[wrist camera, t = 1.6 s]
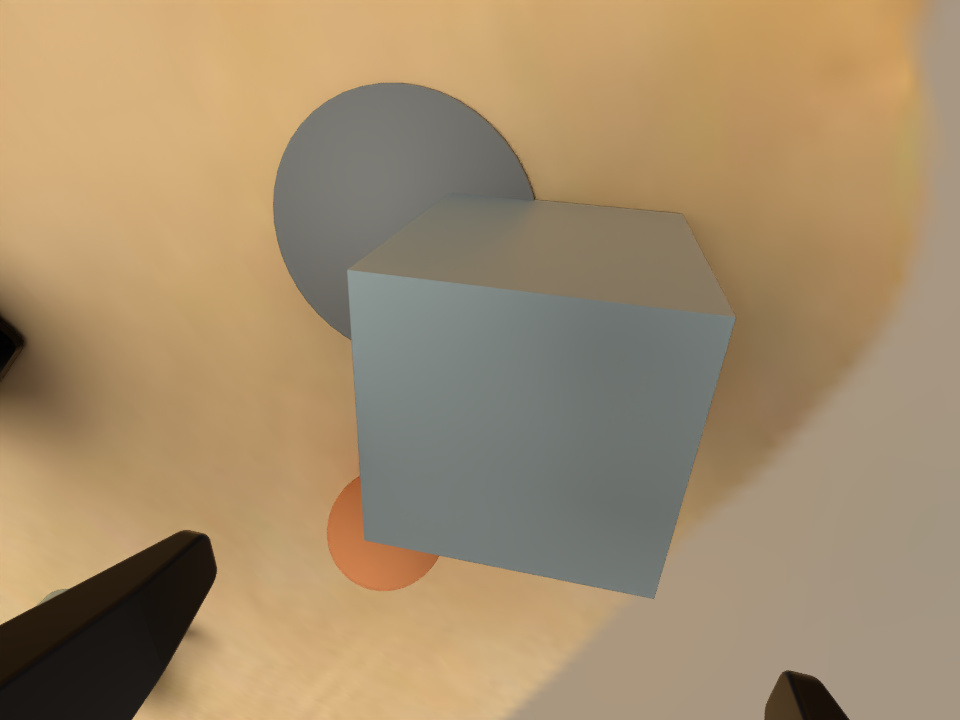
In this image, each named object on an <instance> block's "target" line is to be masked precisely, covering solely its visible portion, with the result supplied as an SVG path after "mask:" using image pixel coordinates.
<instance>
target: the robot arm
mask: <svg viewBox="0 0 960 720" xmlns="http://www.w3.org/2000/svg"><path fill="white" fill-rule="evenodd" d="M23 346H24V344H23V341H22V339H21V337H20V336H19V335H18V334H17V333H16V332H15V331H13V330H12V329H11V328H10V327H9V326H8V325H7V324H5V323H4V322H3V321H2V320H1V319H0V381H1V379H2V378H3V376H4V375H5V373H6V372H7V370H8V369H9V367H10V366H11V364H12V363H13V362H14V360H15V359H16V357H17V356H18V354H19V353H20V351H21V350H22V348H23ZM216 574H217V565H216V561H215V557H214V553H213V549H212V545H211V541H210V539H209V537H208V536H207V535H206V534H203V533H199V532H195V531H191V530H183V531H180V532H177V533H175V534H174V535H172V536H170V537H168V538H166V539H164V540H162V541H160V542H158V543H156V544H154V545H152V546H151V547H149V548H147V549H145V550H143V551H141V552H139V553H137V554H135V555H133V556H131V557H129V558H128V559H126V560H124V561H122V562H120V563H118V564H116V565H114V566H112V567H110V568H108V569H107V570H105V571H103V572H101V573H99V574H97V575H95V576H93V577H91V578H89V579H87V580H85V581H84V582H82V583H80V584H78V585H76V586H74V587H72V588H70V589H68V590H66V591H64V592H62V593H61V594H59V595H57V596H55V597H53V598H51V599H49V600H47V601H45V602H43V603H41V604H39V605H38V606H36V607H34V608H32V609H30V610H28V611H26V612H24V613H22V614H20V615H18V616H16V617H15V618H13V619H11V620H9V621H7V622H5V623H3V624H1V625H0V720H132V719H133V717H134V716H135V714H136V713H137V711H138V710H139V708H140V707H141V705H142V704H143V702H144V701H145V699H146V698H147V696H148V695H149V694H150V692H151V691H152V689H153V688H154V686H155V685H156V683H157V681H158V680H159V678H160V677H161V675H162V674H163V672H164V671H165V669H166V667H167V666H168V664H169V662H170V660H171V659H172V657H173V655H174V654H175V652H176V650H177V648H178V646H179V644H180V643H181V641H182V639H183V637H184V635H185V634H186V632H187V630H188V628H189V626H190V625H191V623H192V621H193V619H194V617H195V616H196V614H197V612H198V610H199V608H200V607H201V605H202V603H203V601H204V599H205V598H206V596H207V594H208V592H209V590H210V588H211V587H212V585H213V583H214V580H215V578H216ZM765 720H849V718H848V717H847V716H846V714H845V713H844V712H843V710H842V709H841V708H840V706H839V705H838V704H837V702H836V701H835V700H834V698H833V697H832V696H831V694H830V693H829V692H828V690H827V689H826V688H825V686H824V685H823V684H822V683H821V682H820V681H819V680H818V679H817V678H815V677H813V676H810V675H807V674H802V673H798V672H794V671H789V670H788V671H785V672H782V674H781V675H780V677H779V679H778V681H777V683H776V685H775V687H774V689H773V691H772V693H771V695H770V697H769V699H768V701H767V704H766V707H765Z"/></svg>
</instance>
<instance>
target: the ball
mask: <svg viewBox="0 0 960 720" xmlns="http://www.w3.org/2000/svg"><path fill="white" fill-rule="evenodd" d="M327 540H328V545H329V550H330V553H331V555H332V557H333V560H334V562H335V564H336V565H337V567H338V568H339V569H340V570H341V572H342V573H343V574H344V575H345V576H346V577H347V578H348V579H350V580H351V581H353V582H354V583H356V584H358V585H360V586H362V587H364V588H367V589H371V590H377V591H391V590H396V589H400V588H404V587H406V586H408V585H410V584H412V583H414V582H416V581H417V580H419V579H420V578H421V577H423V576H424V575H425V574H426V573H427V572H428V571H429V570H430V569H431V567H432V566H433V565H434V563H435V562H436V560H437V559H438V557H439V555H434V554H429V553H424V552H419V551H414V550H410V549H405V548H400V547H395V546H390V545H385V544H380V543H375V542H370V541H365V540H364V528H363V513H362V497H361V481H360V476H359V477H358V478H356V479H355V480H353V481H352V482H351V483H350V484H349V485H347V486H346V487H345V488H344V490H343V491H342V492H341V493H340V495H339V496H338V498H337V499H336V501H335V503H334V505H333V507H332V510H331V513H330V516H329V520H328V526H327Z"/></svg>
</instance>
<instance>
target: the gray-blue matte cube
mask: <svg viewBox="0 0 960 720" xmlns="http://www.w3.org/2000/svg"><path fill="white" fill-rule="evenodd" d="M347 275H348V290H349V306H350V322H351V338H352V354H353V370H354V386H355V401H356V417H357V433H358V449H359V465H360V481H361V497H362V513H363V528H364V540H365V541H370V542H375V543H380V544H385V545H390V546H395V547H400V548H405V549H410V550H414V551H419V552H424V553H429V554H434V555H439V556H444V557H449V558H454V559H459V560H464V561H469V562H474V563H479V564H484V565H489V566H494V567H498V568H503V569H508V570H513V571H518V572H523V573H528V574H533V575H538V576H543V577H548V578H553V579H558V580H563V581H568V582H573V583H577V584H582V585H587V586H592V587H597V588H602V589H607V590H612V591H617V592H622V593H627V594H632V595H637V596H642V597H647V598H652V599H654V597H655V594H656V591H657V587H658V584H659V580H660V577H661V573H662V570H663V567H664V563H665V560H666V556H667V553H668V549H669V546H670V543H671V539H672V536H673V532H674V529H675V525H676V522H677V519H678V515H679V512H680V508H681V505H682V501H683V498H684V494H685V491H686V488H687V484H688V481H689V477H690V474H691V470H692V467H693V464H694V460H695V457H696V453H697V450H698V446H699V443H700V440H701V436H702V433H703V429H704V426H705V422H706V419H707V416H708V412H709V409H710V405H711V402H712V398H713V395H714V392H715V388H716V385H717V381H718V378H719V374H720V371H721V368H722V364H723V361H724V357H725V354H726V350H727V347H728V344H729V340H730V337H731V333H732V330H733V326H734V323H735V320H736V316H735V314H734V312H733V310H732V308H731V306H730V304H729V303H728V301H727V299H726V297H725V295H724V293H723V291H722V289H721V287H720V285H719V283H718V281H717V279H716V278H715V276H714V274H713V272H712V270H711V268H710V266H709V264H708V262H707V260H706V258H705V256H704V254H703V253H702V251H701V249H700V247H699V245H698V243H697V241H696V239H695V237H694V235H693V233H692V231H691V229H690V227H689V226H688V224H687V222H686V220H685V218H684V216H683V214H680V213H670V212H659V211H649V210H638V209H628V208H617V207H607V206H597V205H586V204H576V203H565V202H555V201H544V200H534V201H531V200H521V199H510V198H500V197H489V196H479V195H468V194H458V193H450V194H448V195H447V196H446V197H444V198H443V199H442V200H440V201H439V202H438V203H436V204H435V205H434V206H432V207H431V208H430V209H428V210H427V211H426V212H424V213H423V214H421V215H420V216H419V217H417V218H416V219H415V220H413V221H412V222H411V223H409V224H408V225H407V226H405V227H404V228H403V229H401V230H400V231H399V232H397V233H396V234H395V235H393V236H392V237H391V238H389V239H388V240H387V241H385V242H384V243H383V244H381V245H380V246H379V247H377V248H376V249H374V250H373V251H372V252H370V253H369V254H368V255H366V256H365V257H364V258H362V259H361V260H360V261H358V262H357V263H356V264H354V265H353V266H352V267H350V268H349V269H348V270H347Z"/></svg>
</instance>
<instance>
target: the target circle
mask: <svg viewBox="0 0 960 720" xmlns="http://www.w3.org/2000/svg"><path fill="white" fill-rule="evenodd" d="M450 193H458V194H468V195H479V196H489V197H500V198H510V199H521V200H531V201H534V200H535V199H534V195H533V192H532V189H531V186H530V184H529V181H528V178H527V175H526V173H525V171H524V170H523V168H522V166H521V164H520V162H519V160H518V158H517V156H516V155H515V153H514V152H513V151H512V149H511V148H510V146H509V145H508V143H507V142H506V140H505V139H504V138H503V137H502V136H501V135H500V134H499V133H498V131H497V130H496V129H495V128H494V127H493V126H492V125H491V124H490V123H489V122H488V121H486V120H485V119H484V118H483V117H482V116H481V115H479V114H478V113H477V112H476V111H474V110H473V109H471V108H470V107H468V106H467V105H465V104H464V103H462V102H460V101H459V100H457V99H455V98H453V97H450V96H448V95H446V94H444V93H442V92H440V91H436V90H433V89H430V88H426V87H423V86H419V85H412V84H405V83H378V84H372V85H366V86H361V87H358V88H355V89H352V90H349V91H346V92H343V93H341V94H339V95H337V96H336V97H334V98H332V99H330V100H328V101H327V102H325V103H324V104H323V105H321V106H320V107H319V108H317V109H316V110H315V111H313V112H312V113H311V114H310V115H309V117H308V118H307V119H306V120H305V121H304V122H303V123H302V124H301V125H300V126H299V128H298V129H297V131H296V132H295V134H294V135H293V136H292V138H291V140H290V142H289V144H288V146H287V148H286V150H285V152H284V154H283V156H282V159H281V162H280V165H279V168H278V171H277V176H276V182H275V187H274V201H273V210H274V224H275V230H276V235H277V240H278V244H279V247H280V250H281V254H282V257H283V259H284V262H285V264H286V266H287V269H288V271H289V273H290V275H291V277H292V279H293V280H294V282H295V284H296V286H297V288H298V289H299V290H300V292H301V293H302V295H303V296H304V298H305V299H306V300H307V302H308V303H309V304H310V305H311V306H312V308H313V309H314V310H315V311H316V312H317V313H318V314H319V315H320V316H321V317H322V318H323V319H324V320H325V321H326V322H327V323H328V324H329V325H330V326H332V327H333V328H334V329H336V330H337V331H338V332H340V333H341V334H342V335H344V336H345V337H347V338H349V339H350V340H352V338H351V322H350V306H349V290H348V275H347V270H348V269H349V268H350V267H352V266H353V265H354V264H356V263H357V262H358V261H360V260H361V259H362V258H364V257H365V256H366V255H368V254H369V253H370V252H372V251H373V250H374V249H376V248H377V247H379V246H380V245H381V244H383V243H384V242H385V241H387V240H388V239H389V238H391V237H392V236H393V235H395V234H396V233H397V232H399V231H400V230H401V229H403V228H404V227H405V226H407V225H408V224H409V223H411V222H412V221H413V220H415V219H416V218H417V217H419V216H420V215H421V214H423V213H424V212H426V211H427V210H428V209H430V208H431V207H432V206H434V205H435V204H436V203H438V202H439V201H440V200H442V199H443V198H444V197H446V196H447V195H448V194H450Z"/></svg>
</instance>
